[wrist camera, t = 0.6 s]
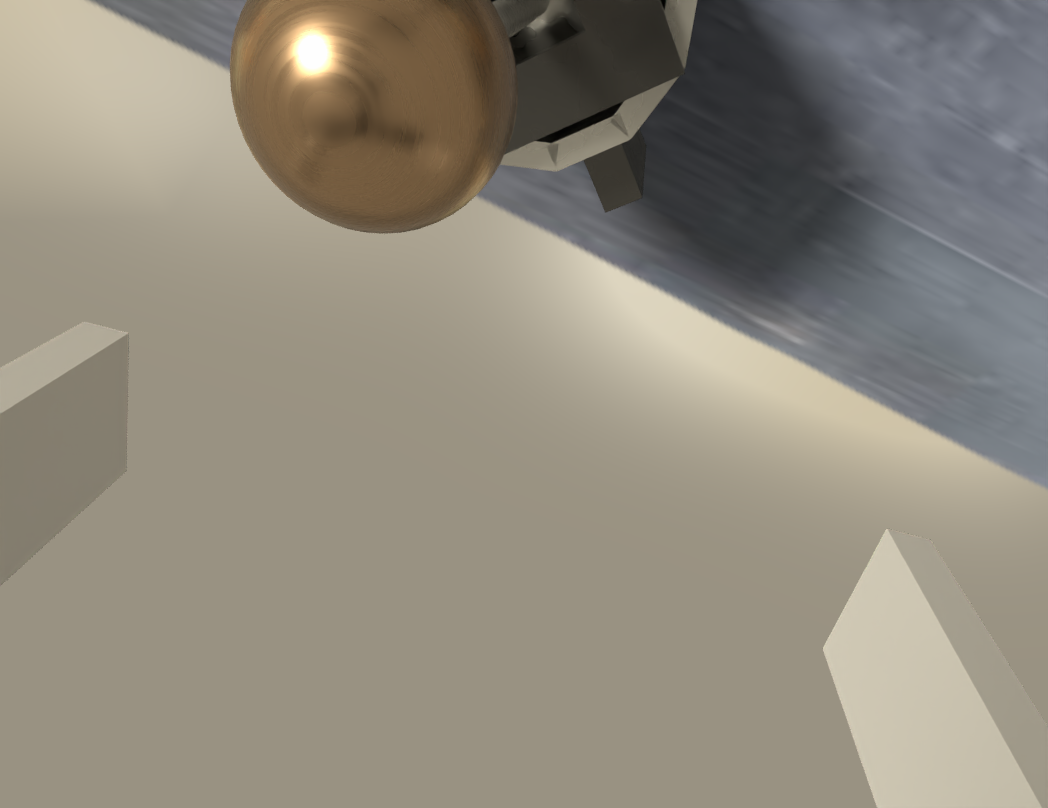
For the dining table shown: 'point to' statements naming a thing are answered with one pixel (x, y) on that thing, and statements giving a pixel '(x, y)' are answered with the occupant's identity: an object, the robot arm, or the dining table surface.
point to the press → (601, 92)
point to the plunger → (385, 99)
